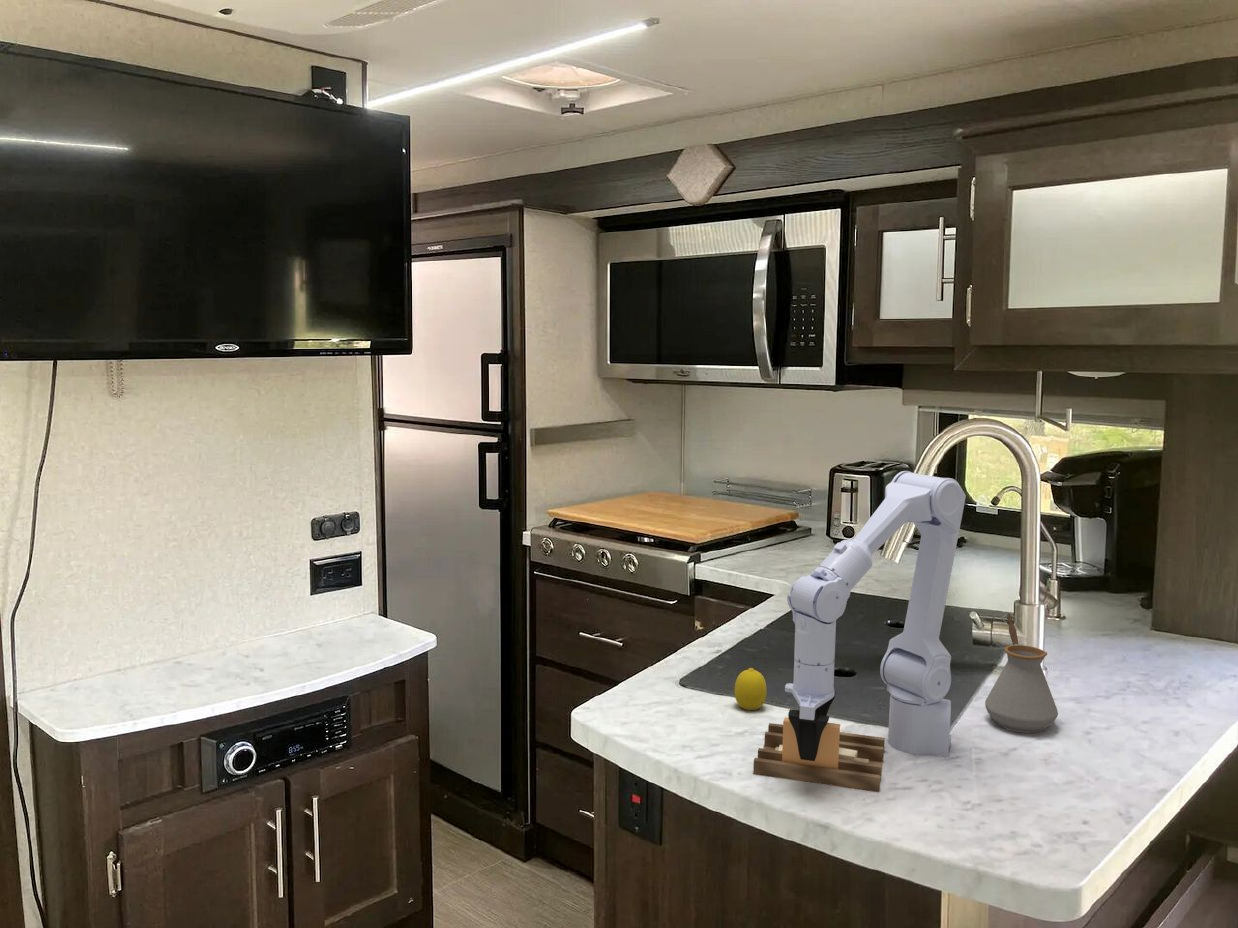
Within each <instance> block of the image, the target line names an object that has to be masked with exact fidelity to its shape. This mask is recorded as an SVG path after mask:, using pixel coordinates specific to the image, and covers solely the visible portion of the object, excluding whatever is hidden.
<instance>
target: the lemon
mask: <svg viewBox="0 0 1238 928" xmlns="http://www.w3.org/2000/svg"><path fill="white" fill-rule="evenodd" d="M767 688H768V687H767V682H766V679H765V677H764V676H763V674H762V673H761V672H759V671H758V670H756V669H754V668H753V667H749V668H748V669H745V670H743V671H742V672H740V673H739V674H738V676H737V678H736V680H735V684H734V697H735V700H736V703H737V704H738V705H739V707H740V708H742V709H744V710H747V711H756V710H758V709H760V708H761V707H762V706H763V705H764V703H765V702H766V699H767V696H768V695H767Z"/></svg>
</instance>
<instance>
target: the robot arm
mask: <svg viewBox="0 0 1238 928" xmlns="http://www.w3.org/2000/svg"><path fill="white" fill-rule="evenodd" d="M966 496H967V495H966V494H965V492H964V490H963V488H962V486H961V485H960V484H959V482H958V481H957V480H956V479H954V478H950V477H939V476H934V475H928V474H921V473H916V472H912V471H910V470H903V471H900V472H898V473H897V474H896V475H895V476H894V477H893V478H892V480H891V481H890V482H889V483H888V484H887V485H886V486H885V489H884V499H883V500H882V502H881V503H880V504H879V506H878V507H877V508H876V510H875V511H874V512H873V513H872V515H871V516H870V517H869V519H868V520H867V521H866V523H864V526H863V527H862V528H861V529H860V530H859V532H858V533H857V534H856V536H854V538H853V539H843V540H841V541H840V542H837V543H836V544H835V545H834V546H833V549H832V551H830V552H829V554H828V555H827V556H826V557H825V558H824V560H822V561H821V563H820V564H819V565H818V566H816V568H815V569H814V570H813V571H812V573H811V574H810V575H808V574H806V575H805V576H804V575H803V576H801V577H800V578H797V580H795V581H794V583H793V584H792V586H791V587H790V590H789V594H788V595H787V596H786V599H787V605H788V607H789V609H790V610H791V611H792V621H793V623H794V625H795V626H794V652H793V653H794V654H793V655H794V656H793V657H794V658H793V660H794V661H793V662H794V664H793V683H792V682H791V683H790V682H788V683H786V684H785V685H784V691H785V692H786V693H791V694H792V695H793V697H794V699H795V700H796V702H797V704H798V705H799V709H793V708H790V709H789V711H788V715H787V718H789V721H790V723H791V724H792V726H793V729H794V731H795V735H796V739H797V745H798V751H799V755H800V759H802V760H809V761H815V759H816V756H817V752H818V748H819V742H820V738H821V734H822V732H823V730H824V728H825V726H826V725H827V723H829V721H830V716H829V715H828V712H829V710H830V708H831V705H832V703H833V701H834V700H835V698H836V691H835V688H834V684H835V683H834V682H835V679H834V677H835V655H836V632H837V631H836V629H837V628H836V627H837V626H836V625H837V620H838V619H839V618H840V617H841V616H843V614H844V613H845V610H846V607H847V601H848V600H849V598H850V595H851V593H852V592H851V591H852V590H853V589H854V588H855V587H856V586H857V585H858V583H859V582H860V581H861V580H862V579H863V577H865V575H866V574H867V573H868V572H869V571H870V570H871V569H872V567H873V555H874V553H875V552H876V551H878V550H879V548H881V547H882V546H883V545H884V544H885V543H886V542H887V541H888V540H890V539H891V537H892V536H893V535H894V534H895V533H897V532H898V531H899V530H900V529H901V528H902V527H903V526H904V525H905V524H907V523H912V524H913V525H914V526H915V528H916V529H917V530H918V532H919V533H920V541H919V544H918V545H919V546H918V551H917V556H916V562H915V568H914V573H913V579H912V583H911V589H910V593H909V594H910V595H909V599H908V605H907V611H906V615H905V616H906V617H905V622H904V627H903V631H902V632H901V633H899V634H897V635H895V636H894V637H892V638H890V639H889V641H888V647H887V650H886V652H885V654H884V656H883V658H882V660H881V663H880V666H879V668H880V669H879V673H880V678H881V680H882V682H884V684H886V691H887V692H889V695H890V696H889V712H888V713H889V715H888V717H889V718H888V732H887V733H888V734H887V736H888V737H887V742H888V743H887V744H888V745H889V746H890V747H891V748H893V750H896V751H898V752H899V751H900V752H901V753H906V754H912V755H929V756H930V755H931V756H938V757H946V758H947V757H948V758H949V751H950V748H951V747H952V735H951V734H950V732H951V718H952V716H951V713H952V711H951V710H952V701H951V700H950V699H946V698H945V697H946V696H947V694H948V692H949V690H950V688H951V683H952V674H951V673H952V672H951V662H952V661H951V660H952V656H951V654H950V653H949V651H948V649H947V648H946V647H945V645H944V644H943V643H942V642H941V640H940V635H941V628H942V623H943V620H944V619H943V618H944V612H945V607H946V603H947V597H948V593H949V592H948V591H949V587H950V583H951V582H950V581H951V576H952V571H953V567H954V566H953V565H954V560H955V556H956V555H955V554H956V549H957V546H958V545H957V544H958V539H959V533H960V529H961V523H962V519H963V513H964V507H965V503H966Z"/></svg>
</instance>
